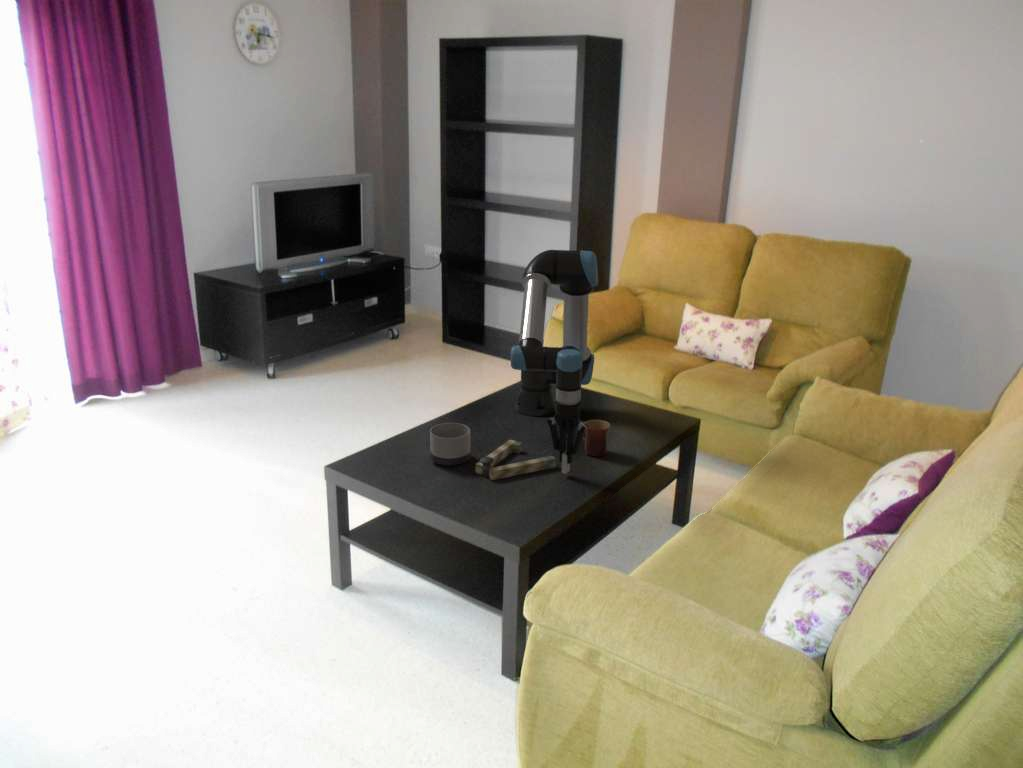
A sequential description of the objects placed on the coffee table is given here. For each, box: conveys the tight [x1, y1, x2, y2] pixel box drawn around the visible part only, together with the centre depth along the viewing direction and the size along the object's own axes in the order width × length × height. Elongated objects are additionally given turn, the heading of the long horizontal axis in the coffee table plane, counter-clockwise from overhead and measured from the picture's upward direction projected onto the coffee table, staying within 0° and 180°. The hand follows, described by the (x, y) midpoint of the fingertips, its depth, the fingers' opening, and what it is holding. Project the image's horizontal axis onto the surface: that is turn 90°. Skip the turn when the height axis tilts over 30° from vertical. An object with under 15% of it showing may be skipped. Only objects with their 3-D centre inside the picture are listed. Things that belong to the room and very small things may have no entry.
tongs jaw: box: [488, 455, 556, 481], centre depth 261 cm, size 22×2×3 cm, turn 116°
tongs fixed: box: [474, 439, 523, 478], centre depth 268 cm, size 24×6×6 cm, turn 151°
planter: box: [429, 422, 471, 467], centre depth 269 cm, size 13×13×10 cm
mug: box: [577, 419, 612, 458], centre depth 276 cm, size 12×9×10 cm
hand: (565, 471), depth 260 cm, fingers closed
